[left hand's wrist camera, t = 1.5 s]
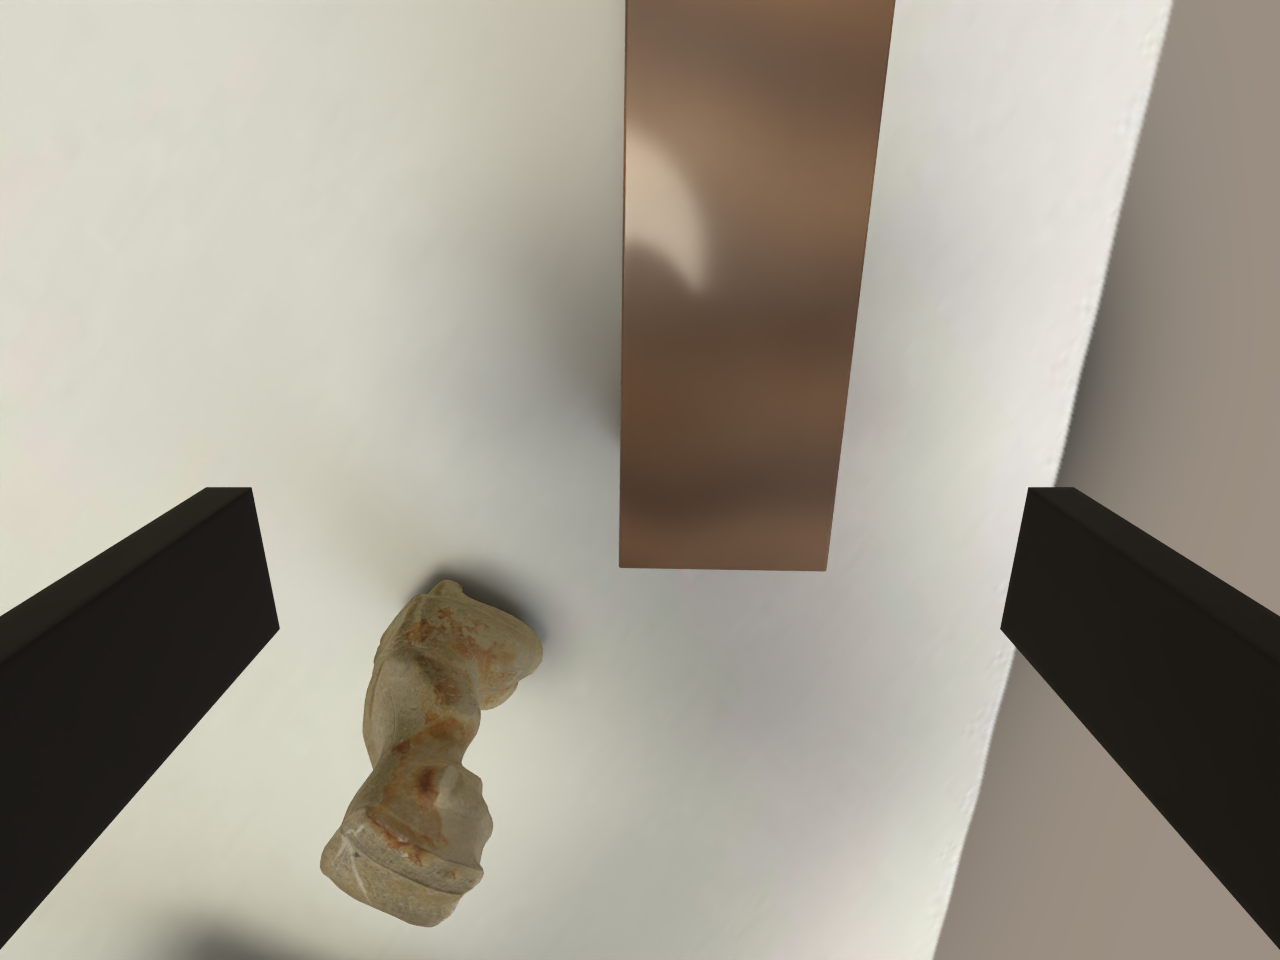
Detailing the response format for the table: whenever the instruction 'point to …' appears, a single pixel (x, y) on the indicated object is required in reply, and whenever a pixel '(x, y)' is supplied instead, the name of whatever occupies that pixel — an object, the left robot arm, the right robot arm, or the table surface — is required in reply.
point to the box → (742, 272)
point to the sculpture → (427, 755)
